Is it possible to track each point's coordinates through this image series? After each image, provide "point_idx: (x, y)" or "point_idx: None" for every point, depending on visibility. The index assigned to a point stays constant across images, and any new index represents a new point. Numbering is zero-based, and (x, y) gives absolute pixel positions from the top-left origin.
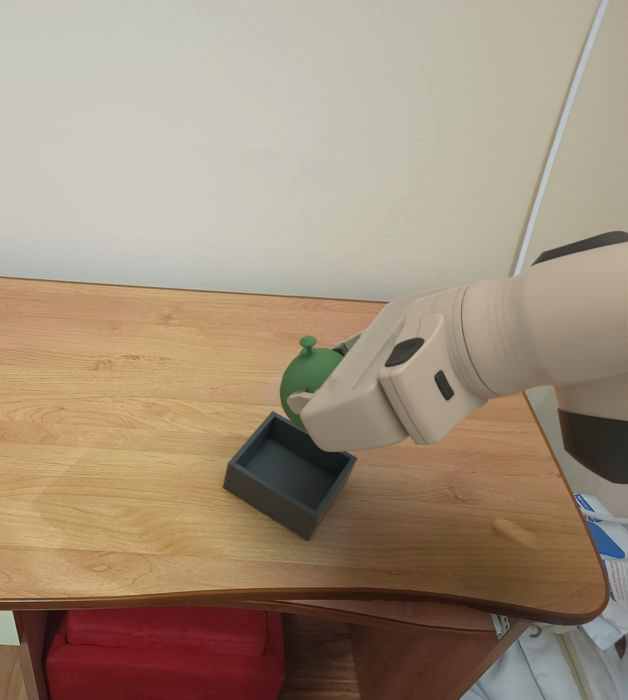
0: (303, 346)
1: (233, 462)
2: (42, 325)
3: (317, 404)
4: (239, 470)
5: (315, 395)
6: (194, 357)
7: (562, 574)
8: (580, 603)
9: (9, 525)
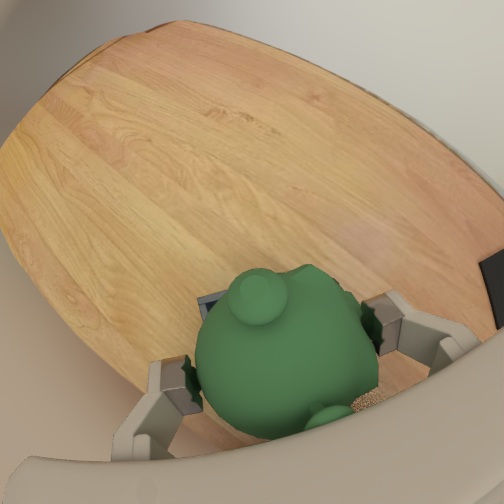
0: (228, 302)
1: (202, 301)
2: (203, 64)
3: (24, 494)
4: (201, 315)
5: (67, 471)
6: (306, 145)
7: None
8: None
9: (52, 224)
